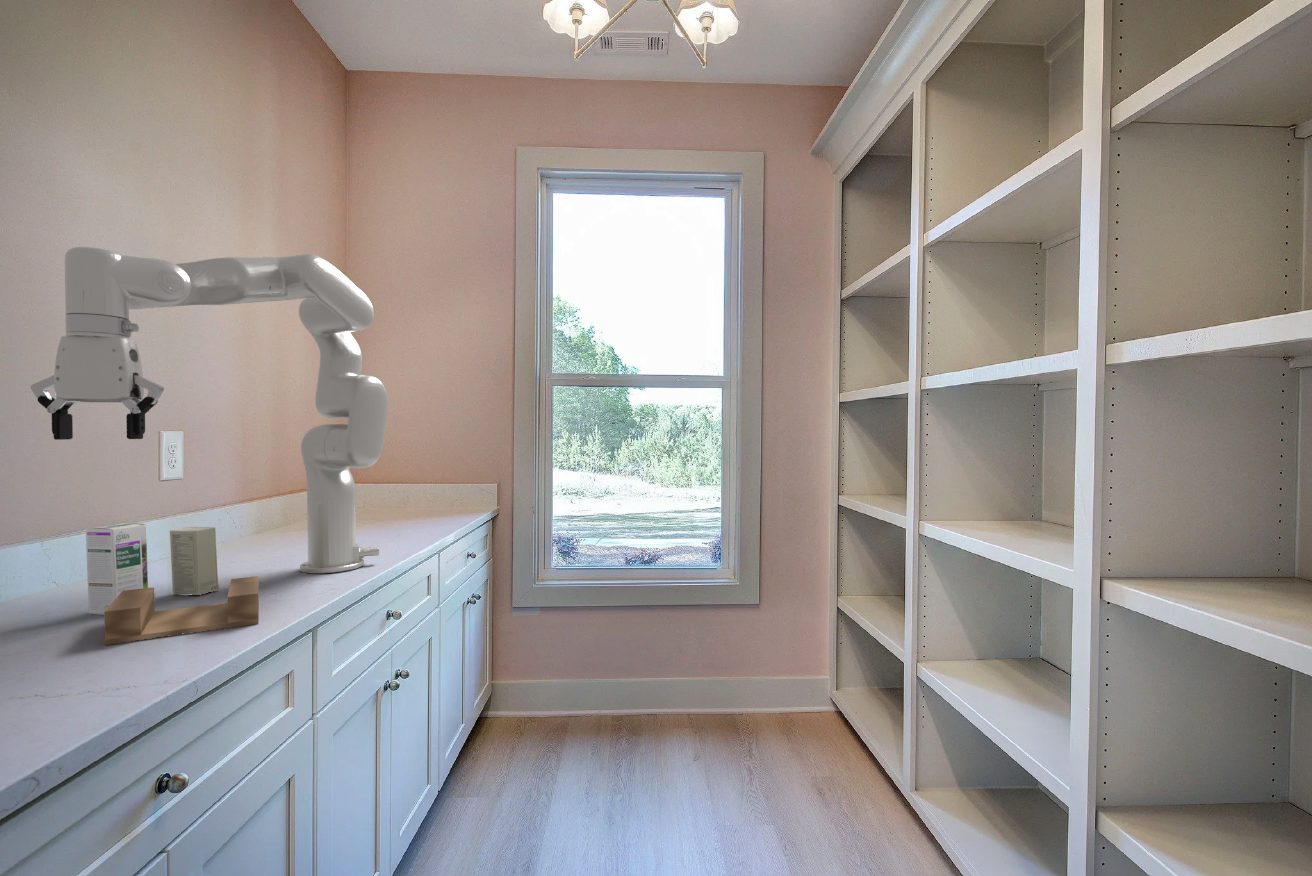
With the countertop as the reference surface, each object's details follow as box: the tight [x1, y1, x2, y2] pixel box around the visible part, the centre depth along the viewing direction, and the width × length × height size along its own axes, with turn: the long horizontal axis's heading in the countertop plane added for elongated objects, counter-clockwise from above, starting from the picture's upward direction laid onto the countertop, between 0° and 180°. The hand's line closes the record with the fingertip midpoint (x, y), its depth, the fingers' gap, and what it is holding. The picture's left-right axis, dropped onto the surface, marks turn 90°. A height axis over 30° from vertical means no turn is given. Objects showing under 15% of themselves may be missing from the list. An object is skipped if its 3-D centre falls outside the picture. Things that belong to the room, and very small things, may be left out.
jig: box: [103, 575, 260, 646], centre depth 101 cm, size 18×14×5 cm
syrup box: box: [85, 522, 149, 616], centre depth 108 cm, size 6×6×14 cm
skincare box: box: [169, 526, 219, 596], centre depth 119 cm, size 6×4×12 cm
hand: (99, 439), depth 100 cm, fingers open, 9 cm apart
